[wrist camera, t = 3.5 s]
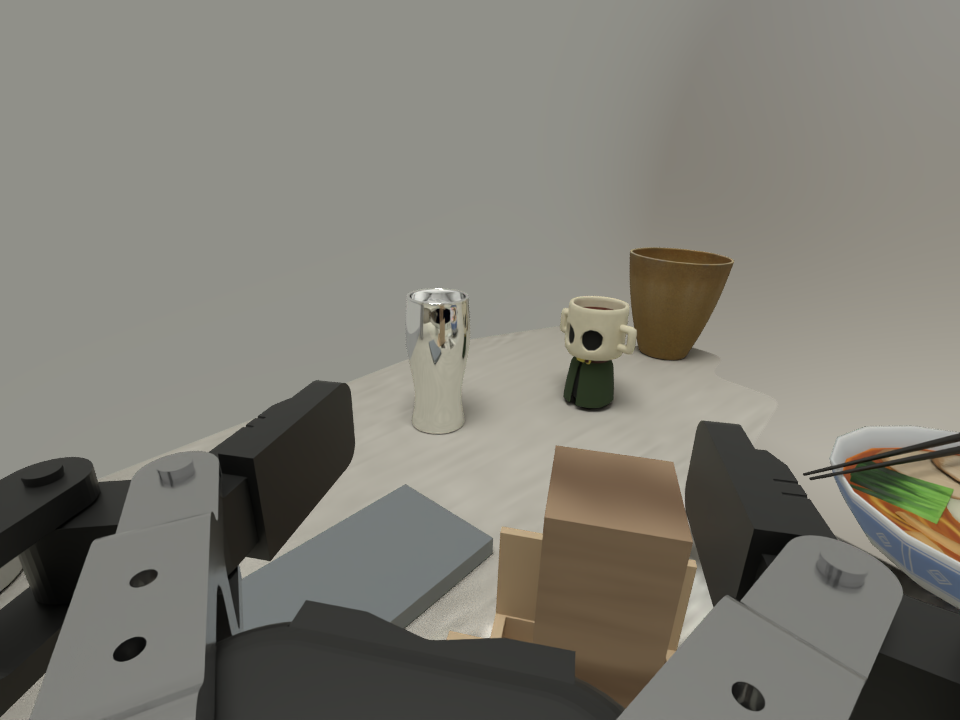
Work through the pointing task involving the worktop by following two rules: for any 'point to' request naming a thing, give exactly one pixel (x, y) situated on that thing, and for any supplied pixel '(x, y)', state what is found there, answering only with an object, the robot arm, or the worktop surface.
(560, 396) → the worktop surface
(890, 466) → the ramen bowl
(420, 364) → the beer glass
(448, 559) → the blue-grey flat slab
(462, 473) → the worktop surface
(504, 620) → the carton
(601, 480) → the walnut block
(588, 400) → the character mug
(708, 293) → the plant pot
